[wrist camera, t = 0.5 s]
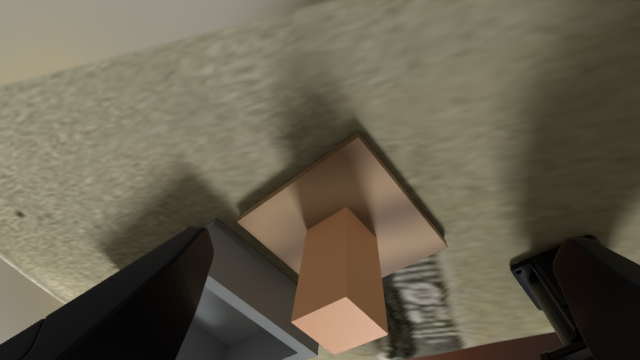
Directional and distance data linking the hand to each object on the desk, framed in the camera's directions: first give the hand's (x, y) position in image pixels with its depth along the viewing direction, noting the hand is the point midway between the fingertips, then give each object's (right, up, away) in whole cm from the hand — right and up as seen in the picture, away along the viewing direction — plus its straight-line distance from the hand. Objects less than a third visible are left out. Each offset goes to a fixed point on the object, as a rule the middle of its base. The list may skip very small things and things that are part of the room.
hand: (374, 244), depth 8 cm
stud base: (0, -2, +17) cm, 17 cm away
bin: (-11, -10, +23) cm, 27 cm away
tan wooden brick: (0, -3, +16) cm, 17 cm away
